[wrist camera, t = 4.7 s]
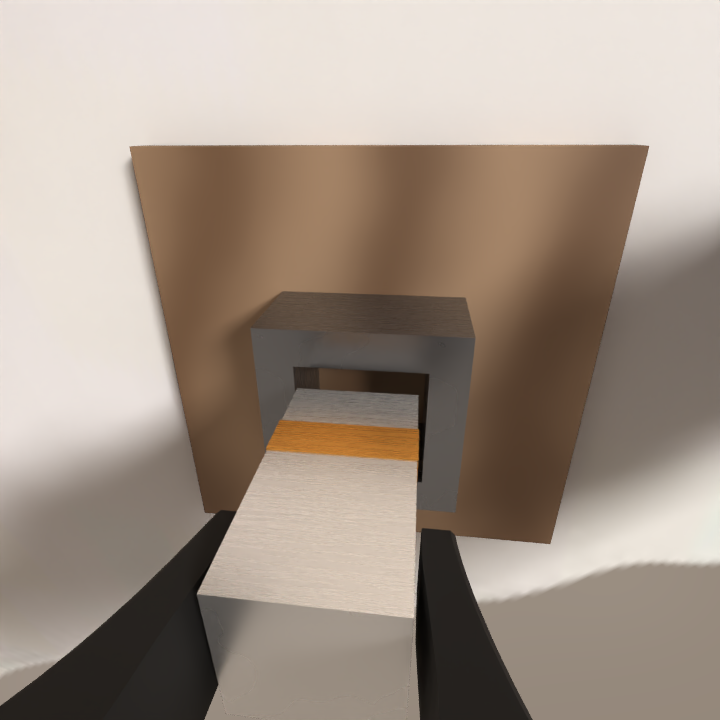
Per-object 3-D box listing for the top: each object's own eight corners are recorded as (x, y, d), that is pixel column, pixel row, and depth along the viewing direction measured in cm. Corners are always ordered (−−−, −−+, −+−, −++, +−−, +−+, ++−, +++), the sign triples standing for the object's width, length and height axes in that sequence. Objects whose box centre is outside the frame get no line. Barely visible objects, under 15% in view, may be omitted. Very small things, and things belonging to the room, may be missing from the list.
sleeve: (465, 297, 16) (475, 338, 13) (450, 449, 19) (455, 512, 16) (282, 291, 17) (250, 328, 14) (294, 438, 20) (270, 496, 17)
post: (419, 394, 13) (416, 617, 7) (413, 491, 15) (406, 739, 9) (295, 387, 13) (194, 592, 7) (303, 482, 15) (224, 714, 9)
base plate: (635, 145, 14) (649, 146, 13) (545, 526, 21) (550, 544, 20) (145, 145, 16) (129, 146, 15) (213, 497, 23) (204, 512, 22)
